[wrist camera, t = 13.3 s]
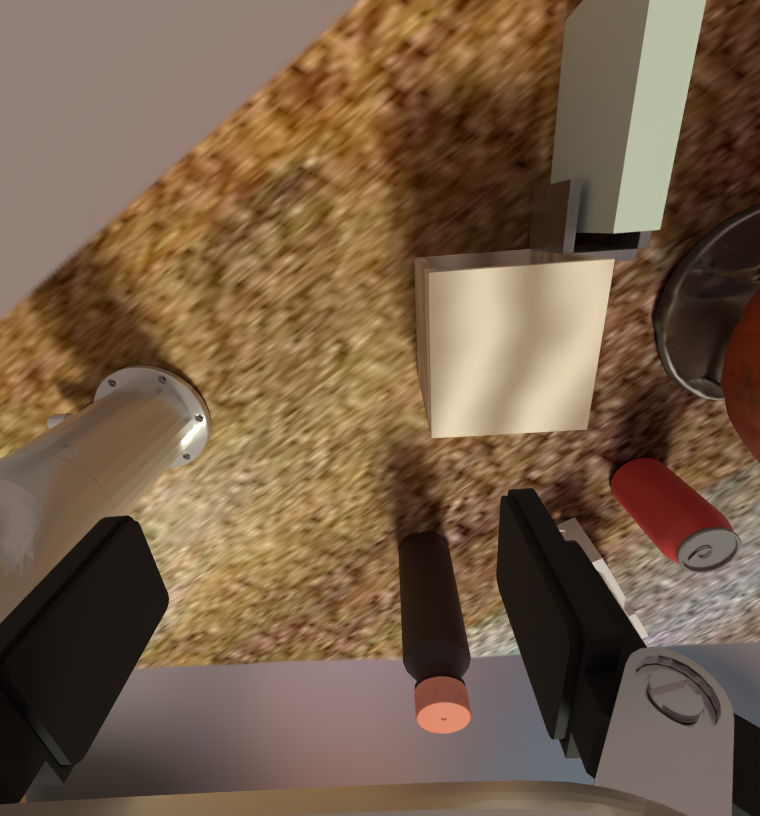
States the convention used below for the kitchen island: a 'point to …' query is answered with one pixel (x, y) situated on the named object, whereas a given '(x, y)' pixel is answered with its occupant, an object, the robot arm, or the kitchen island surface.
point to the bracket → (600, 567)
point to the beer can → (675, 516)
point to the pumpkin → (717, 322)
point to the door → (623, 107)
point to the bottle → (433, 633)
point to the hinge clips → (559, 221)
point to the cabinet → (509, 340)
